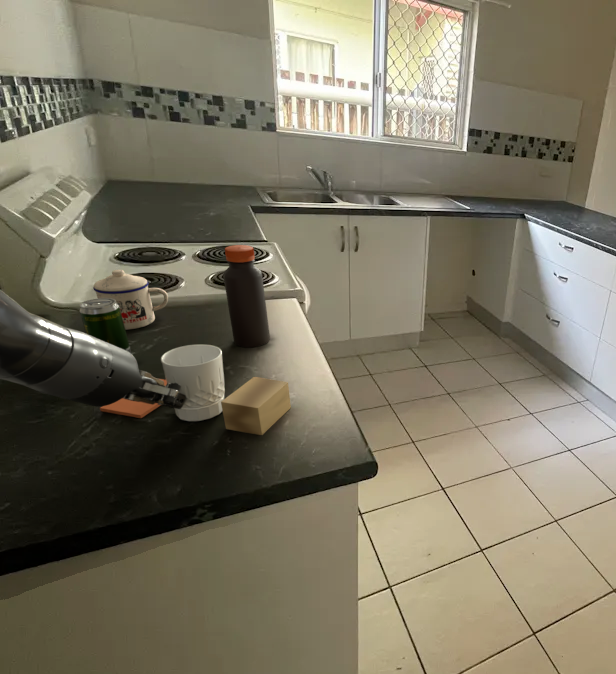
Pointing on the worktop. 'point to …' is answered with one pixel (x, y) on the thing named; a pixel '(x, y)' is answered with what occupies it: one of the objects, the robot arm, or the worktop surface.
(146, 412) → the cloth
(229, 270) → the bottle
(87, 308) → the beer can
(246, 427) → the beech block
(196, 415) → the white cup
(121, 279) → the teacup with lid
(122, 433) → the worktop surface
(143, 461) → the worktop surface
